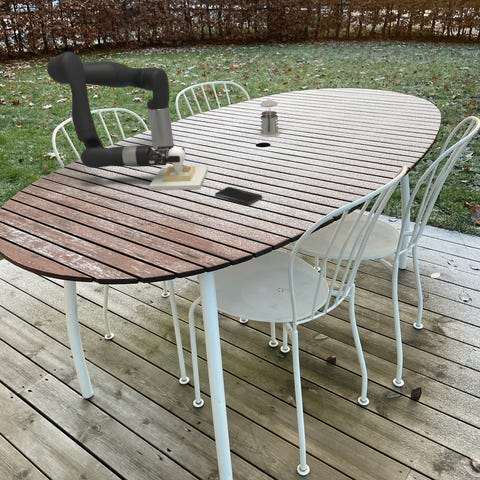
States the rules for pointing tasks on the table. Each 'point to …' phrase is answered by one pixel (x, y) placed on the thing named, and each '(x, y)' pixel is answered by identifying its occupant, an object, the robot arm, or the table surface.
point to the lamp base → (179, 178)
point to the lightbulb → (179, 165)
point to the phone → (238, 196)
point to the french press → (269, 118)
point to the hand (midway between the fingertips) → (182, 155)
